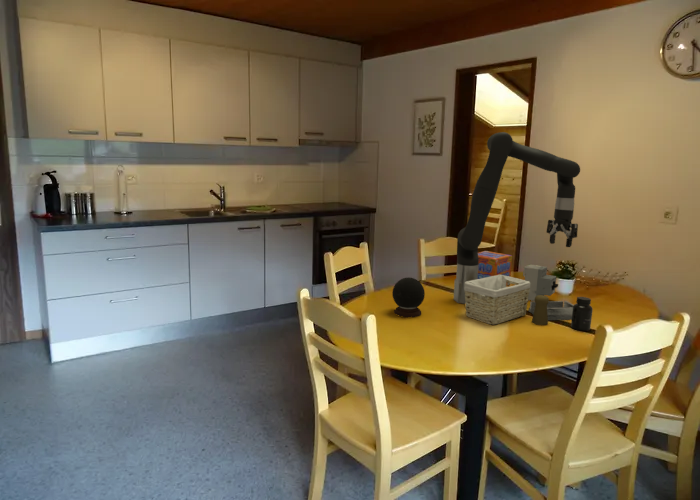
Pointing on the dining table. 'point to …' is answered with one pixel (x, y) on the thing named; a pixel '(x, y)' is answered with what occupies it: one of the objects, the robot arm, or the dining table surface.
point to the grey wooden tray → (556, 310)
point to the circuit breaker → (539, 281)
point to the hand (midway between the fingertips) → (560, 245)
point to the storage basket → (496, 298)
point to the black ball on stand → (408, 297)
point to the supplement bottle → (582, 314)
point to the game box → (494, 264)
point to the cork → (540, 310)
